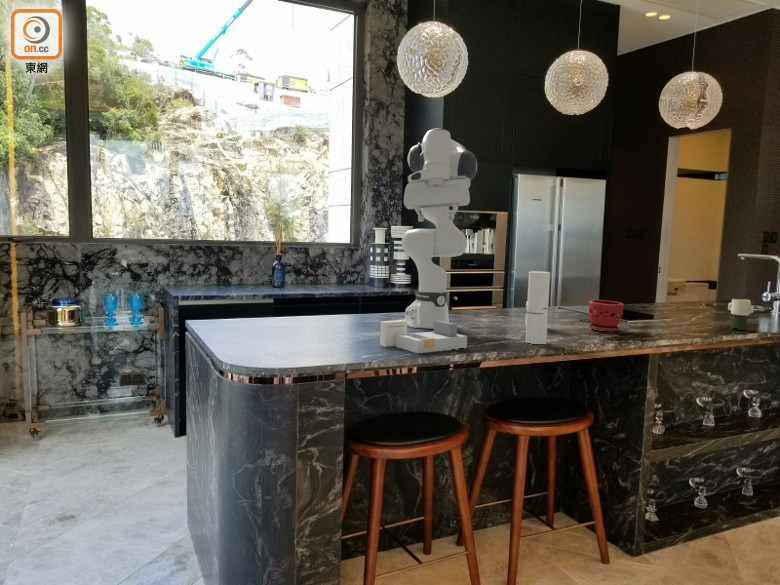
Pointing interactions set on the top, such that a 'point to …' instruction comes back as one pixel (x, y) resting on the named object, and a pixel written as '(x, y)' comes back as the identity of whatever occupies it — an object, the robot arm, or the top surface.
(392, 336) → the panel
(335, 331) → the top surface
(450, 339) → the rack
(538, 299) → the white tall box
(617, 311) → the plant pot
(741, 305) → the character mug
